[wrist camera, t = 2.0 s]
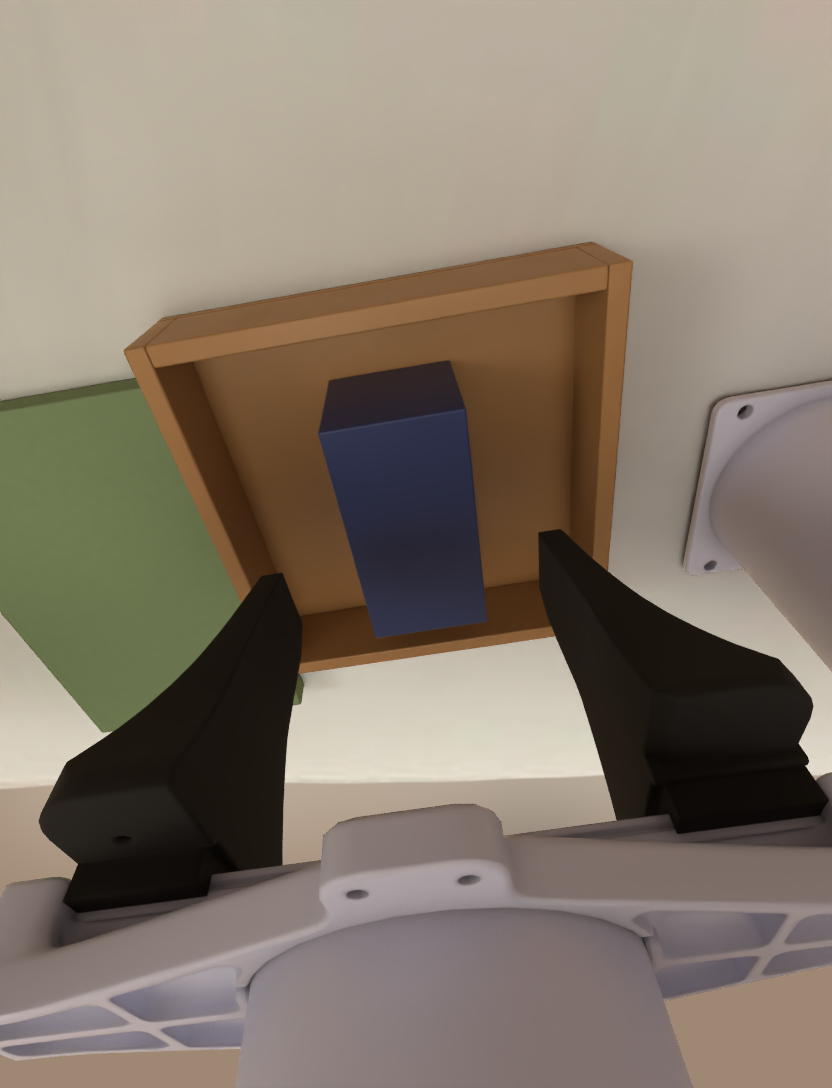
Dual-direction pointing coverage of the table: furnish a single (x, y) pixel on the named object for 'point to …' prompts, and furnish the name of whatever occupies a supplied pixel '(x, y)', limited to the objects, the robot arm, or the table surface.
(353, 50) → the table surface
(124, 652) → the flat green rectangular board
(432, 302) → the open box
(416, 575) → the navy blue rectangular prism
